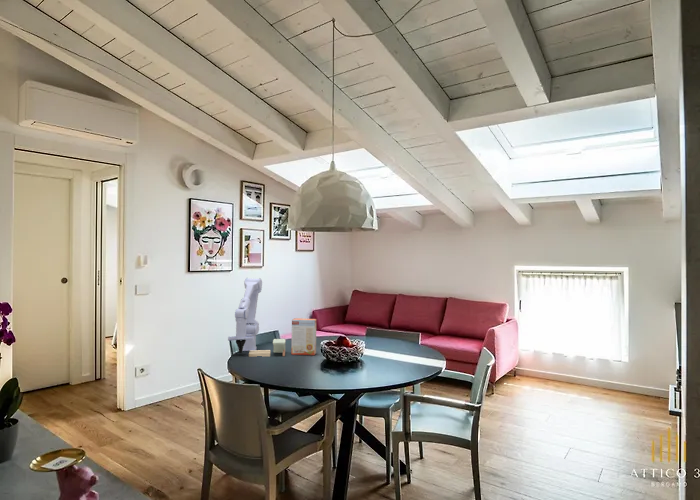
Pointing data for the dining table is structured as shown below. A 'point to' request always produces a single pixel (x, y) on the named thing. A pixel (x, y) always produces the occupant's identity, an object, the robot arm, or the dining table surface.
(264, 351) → the panel
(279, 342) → the overhang
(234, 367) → the dining table surface
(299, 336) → the cracker box
